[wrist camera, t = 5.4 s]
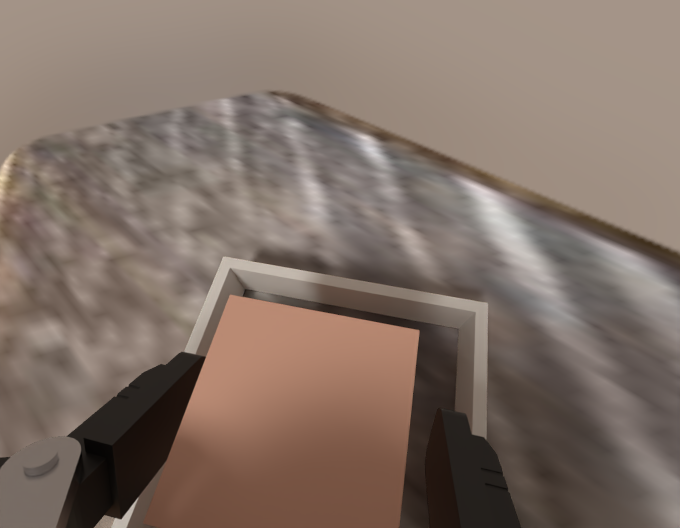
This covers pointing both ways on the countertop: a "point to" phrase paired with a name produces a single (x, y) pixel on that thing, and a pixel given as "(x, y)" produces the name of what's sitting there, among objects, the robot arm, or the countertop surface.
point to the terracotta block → (292, 424)
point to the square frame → (354, 296)
